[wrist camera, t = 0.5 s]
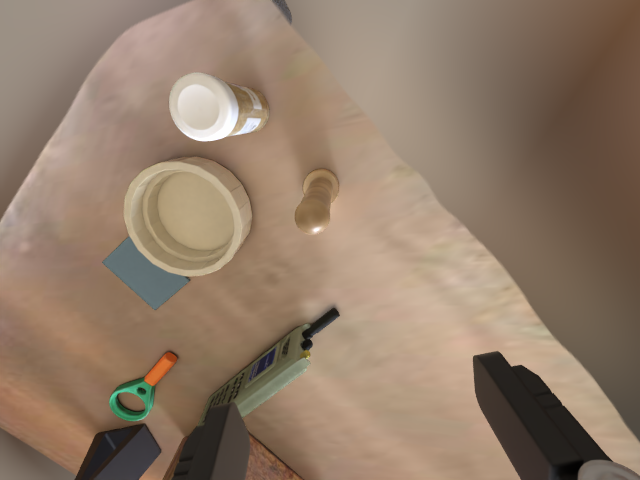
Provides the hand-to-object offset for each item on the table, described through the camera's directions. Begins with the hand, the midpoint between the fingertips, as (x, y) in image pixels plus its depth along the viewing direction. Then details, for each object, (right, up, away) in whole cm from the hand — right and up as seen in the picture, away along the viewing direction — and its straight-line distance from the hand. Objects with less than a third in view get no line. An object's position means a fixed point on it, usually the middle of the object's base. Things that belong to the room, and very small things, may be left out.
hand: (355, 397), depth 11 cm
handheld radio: (-8, -11, +36) cm, 39 cm away
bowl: (-15, +9, +29) cm, 34 cm away
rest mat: (-24, +1, +32) cm, 40 cm away
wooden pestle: (-1, +11, +27) cm, 29 cm away
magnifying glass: (-27, -16, +39) cm, 50 cm away
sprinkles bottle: (-9, +19, +25) cm, 33 cm away
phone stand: (-32, -27, +44) cm, 61 cm away
